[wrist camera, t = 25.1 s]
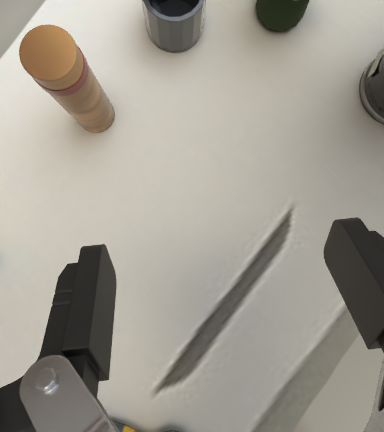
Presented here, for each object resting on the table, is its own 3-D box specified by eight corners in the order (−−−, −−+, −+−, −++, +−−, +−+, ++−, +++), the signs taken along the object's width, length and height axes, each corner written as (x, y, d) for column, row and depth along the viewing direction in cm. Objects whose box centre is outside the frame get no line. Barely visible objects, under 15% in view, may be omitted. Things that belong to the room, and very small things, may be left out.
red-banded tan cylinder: (104, 89, 41) (61, 13, 26) (121, 123, 41) (87, 66, 26) (70, 105, 41) (7, 38, 26) (87, 139, 41) (34, 91, 26)
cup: (187, -11, 42) (188, -54, 36) (211, 38, 42) (217, 4, 36) (137, 12, 42) (129, -27, 35) (162, 61, 42) (158, 32, 35)
